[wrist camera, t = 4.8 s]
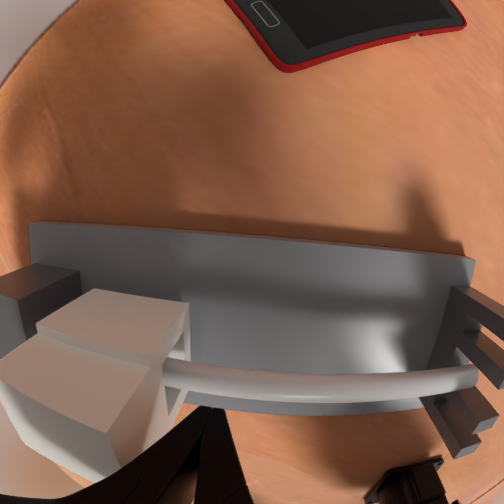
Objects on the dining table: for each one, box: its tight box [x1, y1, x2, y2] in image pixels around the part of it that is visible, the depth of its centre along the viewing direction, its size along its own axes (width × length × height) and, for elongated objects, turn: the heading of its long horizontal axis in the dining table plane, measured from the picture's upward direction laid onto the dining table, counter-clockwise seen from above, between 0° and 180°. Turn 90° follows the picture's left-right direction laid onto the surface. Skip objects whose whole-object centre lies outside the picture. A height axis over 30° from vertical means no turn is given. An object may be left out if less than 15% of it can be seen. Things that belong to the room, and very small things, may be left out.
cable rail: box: [0, 221, 504, 459], centre depth 11 cm, size 26×10×7 cm, turn 86°
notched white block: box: [0, 288, 191, 483], centre depth 9 cm, size 5×4×7 cm
